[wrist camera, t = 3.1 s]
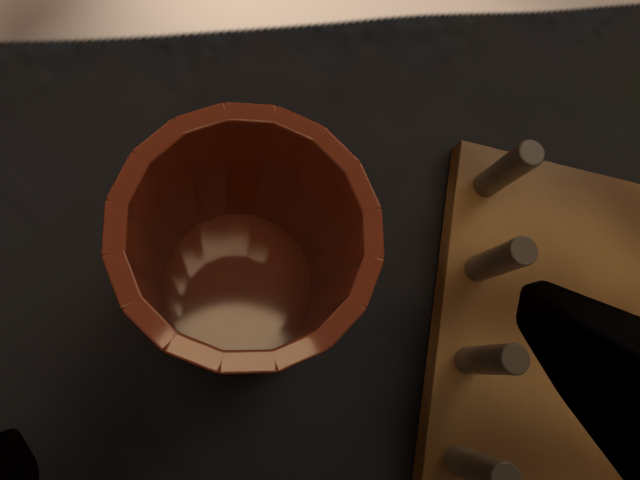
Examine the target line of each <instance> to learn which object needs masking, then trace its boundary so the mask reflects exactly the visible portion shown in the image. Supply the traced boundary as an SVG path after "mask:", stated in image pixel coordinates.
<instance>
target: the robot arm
mask: <svg viewBox="0 0 640 480" xmlns="http://www.w3.org/2000/svg"><path fill="white" fill-rule="evenodd" d="M516 322H517V326H518V328H519V330H520V332H521V333H522V335H523V337H524V338H525V340H526V342H527V343H528V345H529V347H530V348H531V350H532V352H533V353H534V355H535V357H536V358H537V360H538V361H539V363H540V365H541V366H542V368H543V370H544V371H545V373H546V375H547V376H548V378H549V380H550V381H551V383H552V384H553V386H554V387H555V389H556V391H557V392H558V394H559V395H560V396H561V398H562V399H563V401H564V402H565V403H566V405H567V406H568V407H569V409H570V410H571V411H572V413H573V414H574V415H575V417H576V418H577V419H578V421H579V422H580V423H581V425H582V426H583V427H584V429H585V430H586V431H587V433H588V434H589V435H590V437H591V438H592V439H593V441H594V442H595V443H596V445H597V446H598V447H599V449H600V450H601V451H602V452H603V454H604V455H605V456H606V458H607V459H608V460H609V462H610V463H611V464H612V466H613V467H614V468H615V470H616V471H617V472H618V474H619V475H620V476H621V478H622V479H623V480H640V316H637V315H634V314H632V313H629V312H627V311H624V310H621V309H619V308H616V307H613V306H611V305H608V304H606V303H603V302H600V301H598V300H595V299H593V298H590V297H587V296H585V295H582V294H580V293H577V292H574V291H572V290H569V289H566V288H564V287H561V286H559V285H556V284H553V283H551V282H548V281H545V280H539V281H536V282H532V283H529V284H526V285H524V286H523V287H522V289H521V291H520V297H519V302H518V307H517V313H516ZM0 480H39V468H38V464H37V461H36V458H35V457H34V455H33V453H32V452H31V450H30V448H29V447H28V445H27V443H26V441H25V440H24V438H23V436H22V435H21V433H20V432H19V431H18V430H17V429H9V430H5V431H2V432H0Z"/></svg>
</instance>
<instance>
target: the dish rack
mask: <svg viewBox="0 0 640 480" xmlns="http://www.w3.org/2000/svg"><path fill="white" fill-rule="evenodd" d="M544 158H545V152H544V149H543V147H542V146H541V144H540V143H538V142H537V141H535V140H525V141H523V142H521V143H520V144H519V145H517V146H516V147H515V148H513V149H512V150H511V151H509V152H508V151H504V150H500V149H496V148H492V147H488V146H484V145H480V144H476V143H472V142H468V141H464V140H461V141H460V142H459V143H458V144H457V145H456V146H455V147H454V148H453V149H452V152H451V161H450V169H449V177H448V186H447V194H446V202H445V210H444V219H443V227H442V235H441V244H440V252H439V260H438V269H437V277H436V285H435V293H434V302H433V310H432V318H431V327H430V335H429V343H428V352H427V360H426V368H425V376H424V385H423V393H422V401H421V410H420V418H419V426H418V435H417V443H416V451H415V460H414V468H413V476H412V480H623V479H622V478H621V476H620V475H619V474H618V472H617V471H616V470H615V468H614V467H613V466H612V464H611V463H610V462H609V460H608V459H607V458H606V456H605V455H604V454H603V452H602V451H601V450H600V449H599V447H598V446H597V445H596V443H595V442H594V441H593V439H592V438H591V437H590V435H589V434H588V433H587V431H586V430H585V429H584V427H583V426H582V425H581V423H580V422H579V421H578V419H577V418H576V417H575V415H574V414H573V413H572V411H571V410H570V409H569V407H568V406H567V405H566V403H565V402H564V401H563V399H562V398H561V396H560V395H559V394H558V392H557V391H556V389H555V387H554V386H553V384H552V383H551V381H550V380H549V378H548V376H547V375H546V373H545V371H544V370H543V368H542V366H541V365H540V363H539V361H538V360H537V358H536V357H535V355H534V353H533V352H532V350H531V348H530V347H529V345H528V343H527V342H526V340H525V338H524V337H523V335H522V333H521V332H520V330H519V328H518V326H517V322H516V313H517V307H518V302H519V297H520V291H521V289H522V287H523V286H524V285H526V284H529V283H532V282H536V281H539V280H545V281H548V282H551V283H553V284H556V285H559V286H561V287H564V288H566V289H569V290H572V291H574V292H577V293H580V294H582V295H585V296H587V297H590V298H593V299H595V300H598V301H600V302H603V303H606V304H608V305H611V306H613V307H616V308H619V309H621V310H624V311H627V312H629V313H632V314H634V315H637V316H640V184H636V183H632V182H628V181H624V180H620V179H616V178H612V177H608V176H604V175H600V174H596V173H592V172H588V171H584V170H580V169H576V168H572V167H568V166H564V165H560V164H556V163H552V162H548V161H544Z"/></svg>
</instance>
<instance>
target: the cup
mask: <svg viewBox="0 0 640 480" xmlns="http://www.w3.org/2000/svg"><path fill="white" fill-rule="evenodd" d="M106 200H107V201H105V206H104V220H103V234H102V248H101V254H102V261H103V263H104V266H105V269H106V271H107V274H108V277H109V279H110V282H111V285H112V287H113V290H114V293H115V296H116V298H117V301H118V304H119V306H120V308H121V309H122V311H123V313H124V314H125V315H126V316H127V317H128V318H129V319H130V320H131V321H132V322H133V323H134V324H135V325H136V326H137V327H138V328H139V329H140V330H141V331H142V332H143V333H144V334H145V335H146V336H147V337H148V338H149V339H150V340H151V341H152V342H153V343H154V344H155V345H156V346H157V347H158V348H159V349H160V350H161V351H163V352H164V353H165V354H168V355H170V356H173V357H175V358H178V359H180V360H183V361H185V362H188V363H190V364H193V365H195V366H198V367H200V368H203V369H205V370H208V371H210V372H213V373H215V374H218V373H219V374H221V375H228V374H269V373H277V372H282V371H284V370H286V369H288V368H290V367H293V366H295V365H297V364H299V363H301V362H304V361H306V360H308V359H310V358H312V357H315V356H317V355H319V354H321V353H324V352H326V351H328V350H329V349H330V348H332V347H333V346H334V344H335V343H336V342H337V341H338V340H339V339H340V338H341V337H342V336H343V335H344V334H345V333H346V331H347V330H348V329H349V328H350V327H351V326H352V325H353V324H354V323H355V322H356V321H357V320H358V318H359V317H360V316H361V315H362V314H363V313H364V312H365V311H366V308H367V307H368V305H369V302H370V299H371V296H372V293H373V291H374V288H375V285H376V282H377V279H378V277H379V274H380V271H381V268H382V266H383V263H384V260H383V259H384V239H383V218H382V209H381V205H380V203H379V201H378V199H377V196H376V194H375V192H374V190H373V188H372V186H371V183H370V181H369V179H368V177H367V175H366V172H365V170H364V168H363V166H362V164H361V163H360V161H359V160H358V159H357V158H356V157H355V156H354V155H353V154H352V153H351V152H350V151H349V150H348V149H347V148H346V147H345V146H344V145H343V144H342V143H341V142H340V141H339V140H338V139H337V138H336V137H335V136H334V135H333V134H332V133H331V132H330V131H329V130H328V129H327V128H326V127H323V126H322V125H320V124H318V123H316V122H314V121H311V120H309V119H307V118H305V117H302V116H300V115H298V114H296V113H293V112H291V111H289V110H287V109H284V108H282V107H280V106H277V107H276V105H267V104H251V103H235V102H225V103H219V104H215V105H212V106H209V107H206V108H202V109H199V110H196V111H193V112H189V113H186V114H183V115H180V116H177V117H175V118H174V119H171V120H170V121H168V122H167V123H166V124H165V125H163V126H162V127H161V128H160V129H158V130H157V131H156V132H155V133H153V134H152V135H151V136H150V137H148V138H147V139H146V140H145V141H143V142H142V143H141V144H140V145H138V146H137V147H136V148H135V149H134V150H133V151H132V153H130V154H129V156H128V158H127V160H126V162H125V163H124V165H123V167H122V169H121V171H120V173H119V175H118V177H117V178H116V180H115V182H114V184H113V186H112V188H111V190H110V191H109V193H108V195H107V197H106Z"/></svg>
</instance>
